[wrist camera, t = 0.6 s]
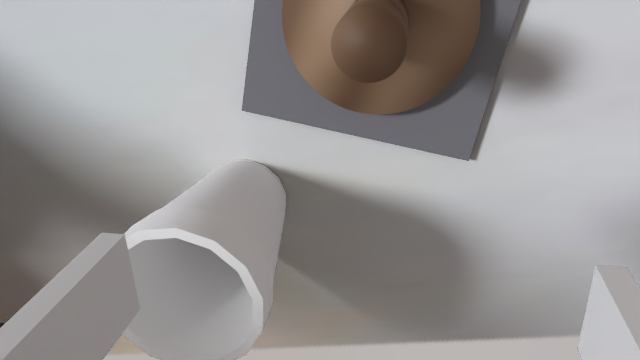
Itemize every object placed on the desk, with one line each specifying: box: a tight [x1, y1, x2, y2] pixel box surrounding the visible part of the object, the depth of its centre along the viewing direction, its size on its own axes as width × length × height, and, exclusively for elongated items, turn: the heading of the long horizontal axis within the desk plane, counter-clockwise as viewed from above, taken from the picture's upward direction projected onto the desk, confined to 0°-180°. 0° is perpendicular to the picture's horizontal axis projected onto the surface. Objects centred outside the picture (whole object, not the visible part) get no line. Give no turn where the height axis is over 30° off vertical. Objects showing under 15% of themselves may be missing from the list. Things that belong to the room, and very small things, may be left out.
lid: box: [282, 0, 481, 115], centre depth 30 cm, size 12×12×9 cm
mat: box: [242, 0, 521, 161], centre depth 34 cm, size 16×16×1 cm
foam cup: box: [122, 159, 286, 360], centre depth 35 cm, size 10×9×13 cm
